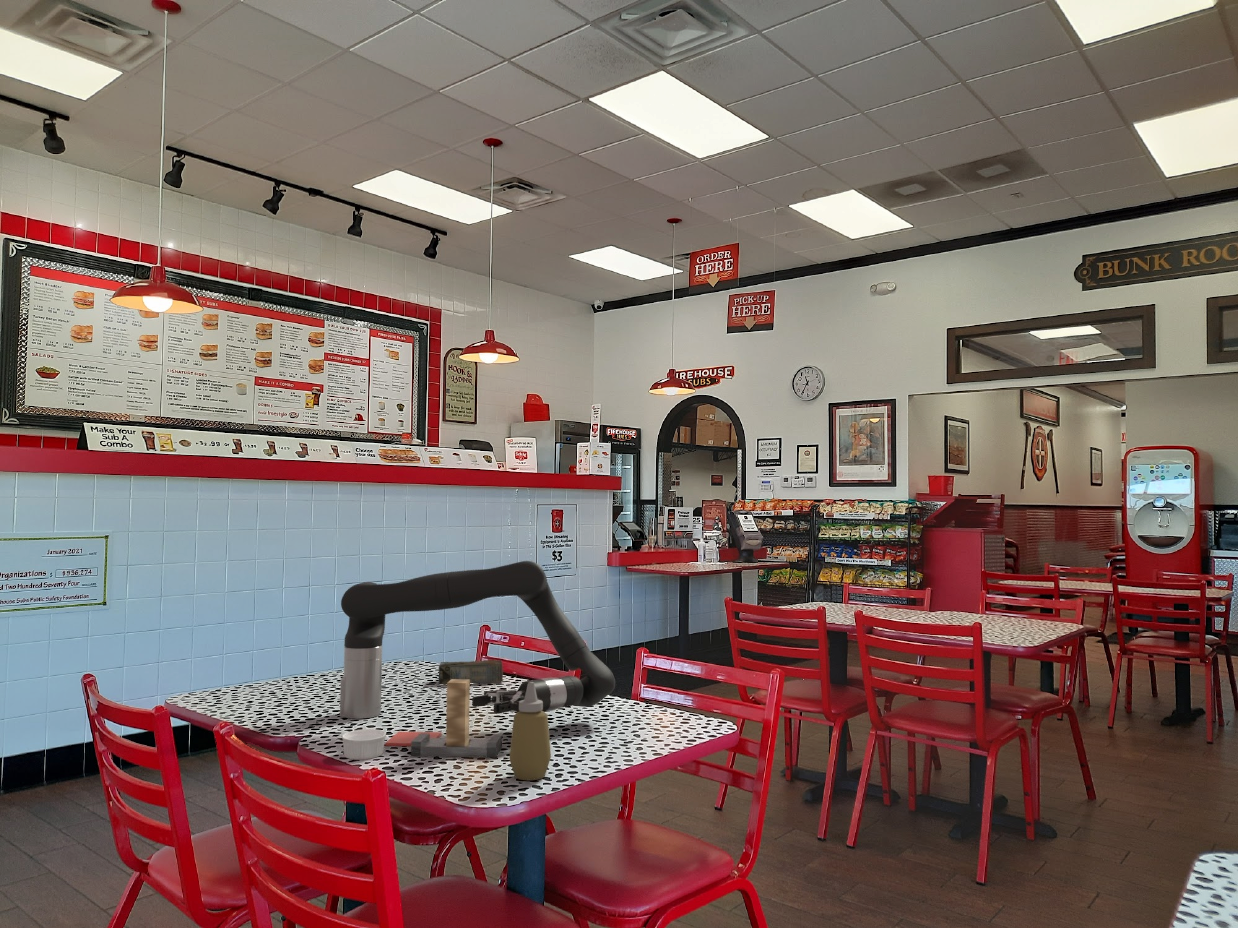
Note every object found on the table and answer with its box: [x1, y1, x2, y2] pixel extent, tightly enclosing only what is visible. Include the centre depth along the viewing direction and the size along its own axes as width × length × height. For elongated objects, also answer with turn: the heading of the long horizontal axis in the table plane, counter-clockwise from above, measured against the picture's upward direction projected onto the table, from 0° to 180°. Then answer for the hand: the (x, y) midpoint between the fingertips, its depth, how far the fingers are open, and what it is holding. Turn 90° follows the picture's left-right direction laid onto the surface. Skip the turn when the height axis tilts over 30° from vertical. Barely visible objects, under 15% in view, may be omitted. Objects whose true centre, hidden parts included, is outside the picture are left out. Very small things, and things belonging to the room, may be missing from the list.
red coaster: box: [384, 731, 443, 747], centre depth 191 cm, size 10×10×1 cm
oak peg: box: [445, 679, 471, 746], centre depth 182 cm, size 4×4×15 cm
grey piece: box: [410, 733, 503, 758], centre depth 181 cm, size 18×7×3 cm, turn 87°
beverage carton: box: [437, 658, 504, 685], centre depth 258 cm, size 8×19×7 cm, turn 98°
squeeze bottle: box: [509, 682, 552, 781], centre depth 165 cm, size 8×8×18 cm
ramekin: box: [341, 728, 387, 761], centre depth 179 cm, size 9×9×4 cm
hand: (483, 705), depth 186 cm, fingers open, 8 cm apart
